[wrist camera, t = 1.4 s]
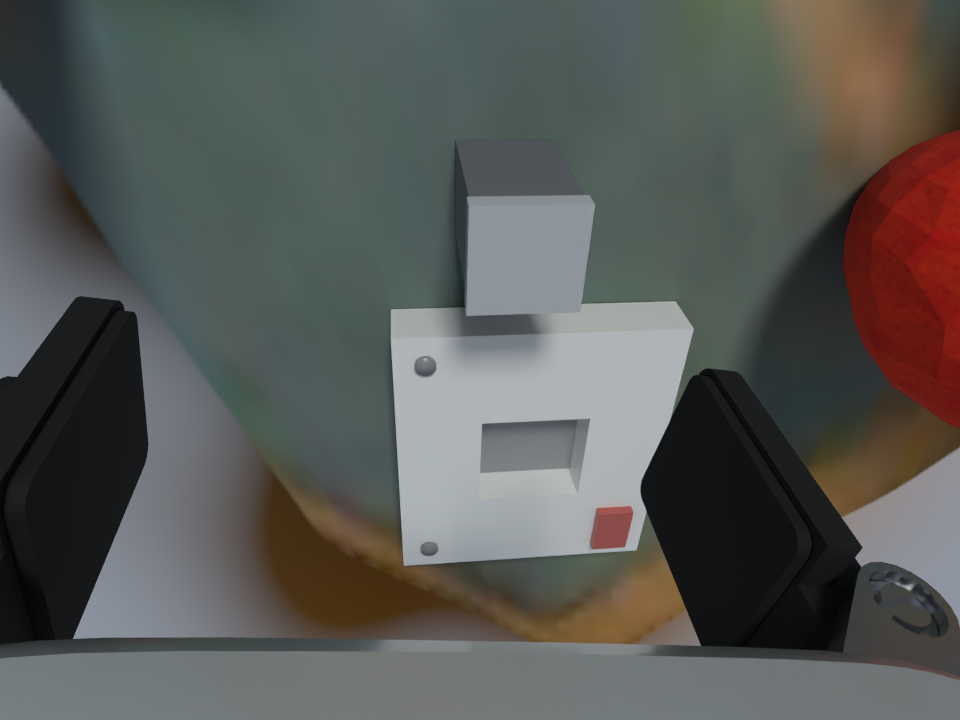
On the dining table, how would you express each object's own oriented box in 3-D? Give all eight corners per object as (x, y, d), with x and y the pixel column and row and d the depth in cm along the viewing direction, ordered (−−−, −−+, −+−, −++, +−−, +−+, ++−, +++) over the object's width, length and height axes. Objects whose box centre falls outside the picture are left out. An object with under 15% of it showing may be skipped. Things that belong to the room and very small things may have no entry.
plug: (553, 137, 28) (595, 204, 22) (545, 230, 30) (580, 312, 25) (453, 137, 27) (468, 206, 22) (452, 231, 30) (466, 316, 24)
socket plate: (675, 301, 33) (697, 334, 31) (624, 518, 43) (638, 556, 40) (390, 309, 32) (390, 345, 29) (403, 531, 41) (403, 572, 39)
